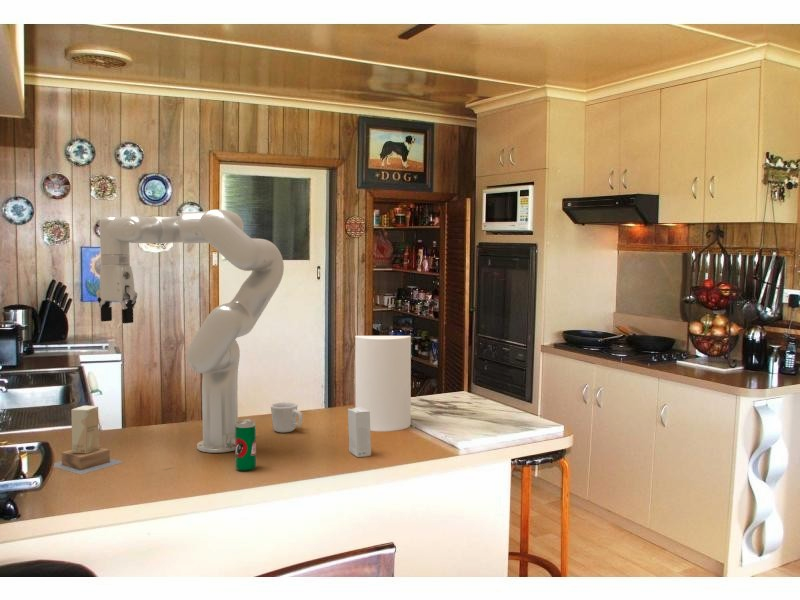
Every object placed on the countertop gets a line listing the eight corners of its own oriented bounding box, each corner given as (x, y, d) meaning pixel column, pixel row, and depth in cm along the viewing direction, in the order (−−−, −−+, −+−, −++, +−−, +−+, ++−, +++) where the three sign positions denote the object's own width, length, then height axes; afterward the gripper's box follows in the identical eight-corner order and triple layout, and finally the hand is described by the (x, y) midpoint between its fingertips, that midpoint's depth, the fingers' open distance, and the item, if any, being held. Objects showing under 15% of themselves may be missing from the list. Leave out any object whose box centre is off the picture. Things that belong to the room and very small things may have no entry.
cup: (310, 431, 213) (310, 405, 213) (292, 436, 206) (292, 410, 206) (283, 426, 219) (283, 400, 218) (265, 431, 212) (265, 405, 212)
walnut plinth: (109, 462, 179) (109, 449, 179) (80, 470, 172) (80, 457, 172) (91, 456, 184) (90, 444, 183) (61, 464, 177) (61, 452, 177)
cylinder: (410, 431, 213) (410, 339, 211) (353, 431, 213) (353, 339, 211) (410, 417, 230) (410, 332, 228) (357, 417, 230) (357, 332, 228)
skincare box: (371, 455, 188) (371, 411, 187) (356, 458, 186) (356, 412, 185) (362, 450, 193) (362, 406, 192) (347, 452, 191) (347, 407, 190)
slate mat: (124, 465, 179) (124, 462, 179) (80, 477, 169) (80, 474, 169) (91, 456, 187) (91, 453, 187) (47, 467, 177) (47, 464, 177)
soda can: (256, 471, 174) (255, 423, 174) (235, 472, 173) (234, 424, 173) (256, 465, 179) (255, 418, 179) (235, 466, 178) (235, 419, 177)
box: (86, 454, 175) (85, 410, 174) (71, 453, 176) (70, 409, 175) (100, 448, 180) (98, 405, 179) (85, 447, 181) (84, 404, 180)
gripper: (146, 261, 196) (147, 322, 197) (108, 260, 205) (110, 319, 206) (122, 261, 189) (124, 325, 191) (84, 261, 199) (86, 321, 200)
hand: (117, 322), depth 199 cm, fingers open, 9 cm apart
